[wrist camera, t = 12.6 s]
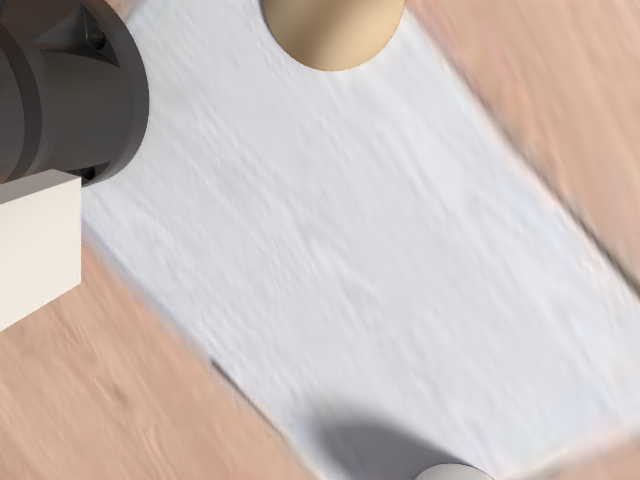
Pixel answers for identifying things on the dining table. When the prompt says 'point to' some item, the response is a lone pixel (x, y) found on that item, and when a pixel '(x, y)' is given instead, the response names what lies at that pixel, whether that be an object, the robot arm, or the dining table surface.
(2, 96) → the robot arm
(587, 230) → the dining table surface
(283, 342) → the dining table surface
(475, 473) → the pill bottle
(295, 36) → the cork coaster
